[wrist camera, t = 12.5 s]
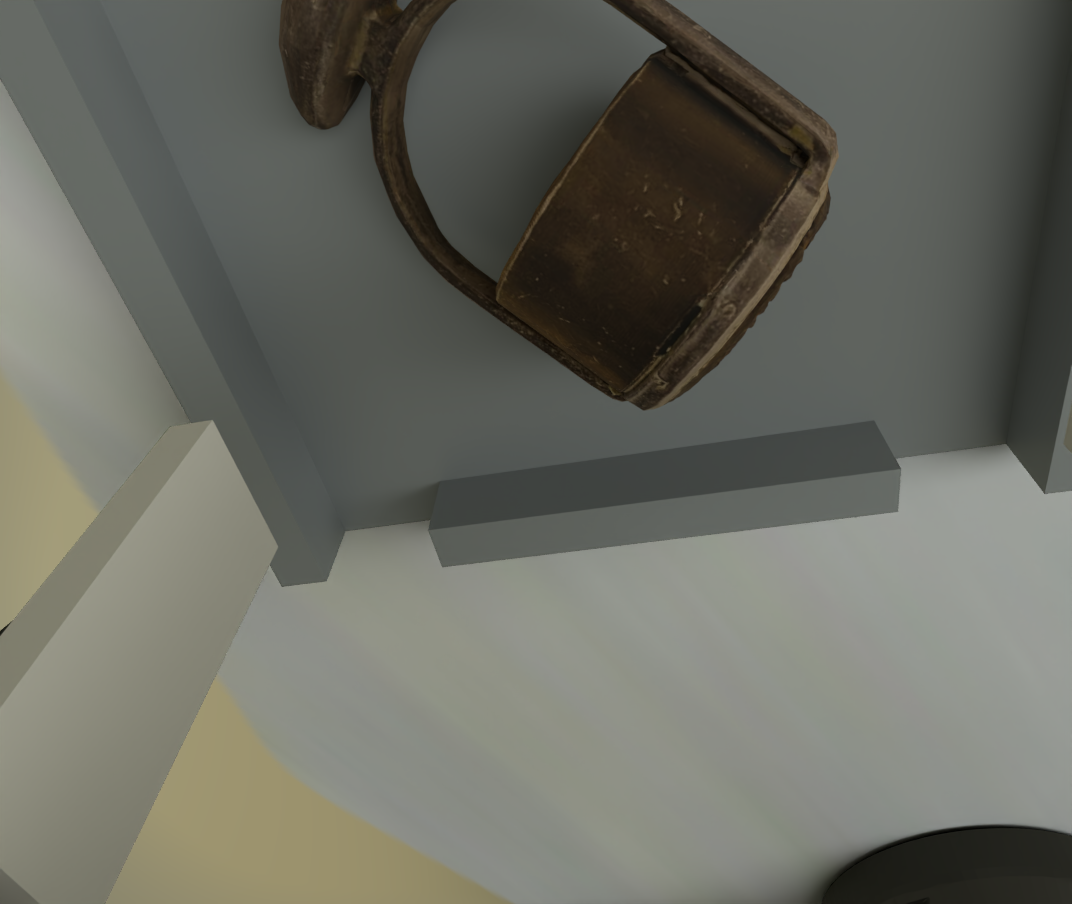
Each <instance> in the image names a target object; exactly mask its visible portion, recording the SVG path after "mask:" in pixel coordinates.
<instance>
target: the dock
mask: <svg viewBox="0 0 1072 904" xmlns="http://www.w3.org/2000/svg"><path fill="white" fill-rule="evenodd" d="M411 1H412V0H397V5H398V6H399V7H400V8H401V9H402V10H403V11H404V9H405V8H406V7H407V6H408V4H409V3H410V2H411ZM666 1H667V2H669V3H670V4H672V5H673V6H674V7H676V8H677V9H679V10H680V11H681V12H683V13H684V14H685V15H687V16H688V17H689V18H691V19H692V20H693V21H695V22H696V23H697V24H699V25H700V26H701V27H703V28H704V29H705V30H707V31H708V32H709V33H711V34H712V35H713V36H715V37H716V38H717V39H719V40H720V41H721V42H723V43H724V44H725V45H727V46H728V47H729V48H731V49H732V50H734V51H735V52H736V53H738V54H739V55H740V56H742V57H743V58H744V59H746V60H747V61H748V62H750V63H751V64H752V65H754V66H755V67H756V68H758V69H759V70H760V71H762V72H763V73H764V74H766V75H767V76H768V77H769V78H771V79H772V80H773V81H775V82H776V83H777V84H779V85H780V86H781V87H783V88H784V89H785V90H787V91H788V92H789V93H791V94H792V95H793V96H795V97H796V98H797V99H798V100H800V101H801V102H802V103H804V104H805V105H806V106H808V107H809V108H810V109H812V110H813V111H814V112H816V113H817V114H818V115H820V116H821V117H822V118H824V119H825V120H826V121H827V123H828V124H829V125H830V126H831V127H832V128H833V130H834V131H835V132H836V136H837V145H838V154H839V157H838V160H837V162H836V164H835V167H834V169H833V171H832V173H831V176H830V178H829V180H828V187H829V192H830V197H831V201H830V208H829V214H828V215H827V219H826V220H825V221H824V223H823V225H822V226H821V228H820V230H819V231H818V232H817V233H816V235H815V237H814V240H813V241H812V242H811V243H810V244H809V246H808V248H807V249H806V250H805V251H804V255H803V260H802V262H800V263H799V264H798V265H797V266H796V268H795V269H794V272H793V274H792V277H791V278H790V279H788V280H787V281H785V282H783V283H782V284H781V287H780V290H779V292H778V293H777V295H776V296H775V298H774V299H773V301H770V302H769V303H768V306H767V308H766V309H765V311H764V312H763V313H762V314H760V315H758V316H757V318H756V322H755V324H754V326H753V327H752V328H748V329H747V331H746V333H745V335H744V336H743V337H742V339H741V340H740V341H739V342H738V343H737V344H736V346H735V347H734V348H733V349H732V351H731V352H730V353H729V354H728V355H727V356H725V357H724V359H723V360H722V361H721V362H720V363H719V365H718V366H717V367H715V368H714V369H713V370H712V371H710V372H709V373H708V374H706V375H705V376H704V377H703V378H702V379H701V380H700V381H699V382H698V383H697V384H696V385H695V386H693V387H692V388H691V389H690V390H689V391H687V392H685V393H684V394H683V395H682V396H680V397H678V398H676V399H675V400H674V401H672V402H669V403H667V404H665V405H663V406H661V407H659V408H656V409H651V410H645V411H643V410H642V409H640V408H638V407H637V406H635V405H633V404H632V403H630V402H629V401H624V402H621V401H618V400H614V399H612V398H610V397H609V396H607V395H605V394H604V393H602V392H601V391H599V390H597V389H596V388H594V387H593V386H591V385H590V384H588V383H587V382H585V381H584V380H583V379H581V378H580V377H578V376H577V375H576V374H574V373H573V372H571V371H570V370H569V369H567V368H566V367H564V366H563V365H562V364H560V363H559V362H557V361H556V360H555V359H553V358H552V357H550V356H549V355H548V354H546V353H545V352H543V351H542V350H540V349H539V348H538V347H536V346H535V345H533V344H532V343H530V342H529V341H528V340H526V339H525V338H523V337H522V336H520V335H519V334H518V333H516V332H515V331H513V330H512V329H511V328H509V327H508V326H506V325H505V324H504V323H502V322H501V321H499V320H498V319H497V318H495V317H494V316H492V315H491V314H490V313H488V312H487V311H485V310H484V309H483V308H481V307H480V306H478V305H477V304H476V303H474V302H473V301H471V300H470V299H469V298H467V297H466V296H465V295H463V294H462V293H461V292H460V291H458V290H457V289H456V288H454V287H453V286H452V285H450V284H449V283H448V282H447V281H446V280H445V279H444V278H443V277H442V276H441V275H440V274H439V273H438V272H437V271H436V270H435V269H434V268H433V267H432V266H431V265H430V264H429V263H428V262H427V261H426V260H425V259H424V257H423V256H422V255H421V254H420V252H419V250H418V249H417V247H416V246H415V244H414V243H413V241H412V240H411V238H410V237H409V235H408V233H407V232H406V230H405V229H404V227H403V226H402V224H401V223H400V221H399V219H398V218H397V216H396V214H395V212H394V210H393V207H392V205H391V203H390V200H389V198H388V195H387V193H386V190H385V187H384V185H383V182H382V179H381V176H380V174H379V171H378V168H377V165H376V163H375V160H374V155H373V144H372V134H371V123H370V100H371V88H370V86H369V84H368V83H367V81H365V83H364V85H363V87H362V89H361V91H360V93H359V95H358V97H357V99H356V101H355V102H354V103H353V105H352V106H351V108H350V109H349V111H348V112H347V114H346V115H345V117H344V118H343V120H342V121H341V123H340V124H339V125H337V126H335V127H332V128H330V129H326V130H320V129H317V128H315V127H313V126H311V125H309V124H308V123H307V122H306V121H305V120H304V118H303V117H302V116H301V115H300V113H299V111H298V109H297V108H296V106H295V104H294V102H293V100H292V99H291V97H290V93H289V88H288V84H287V80H286V75H285V71H284V66H283V62H282V57H281V53H280V48H279V30H280V14H281V4H282V0H0V79H1V80H2V82H3V84H4V86H5V88H6V89H7V91H8V93H9V95H10V97H11V98H12V100H13V102H14V104H15V106H16V107H17V109H18V111H19V113H20V115H21V116H22V118H23V120H24V122H25V124H26V126H27V127H28V129H29V131H30V133H31V135H32V136H33V138H34V140H35V142H36V144H37V145H38V147H39V149H40V151H41V153H42V154H43V156H44V158H45V160H46V162H47V163H48V165H49V167H50V169H51V171H52V172H53V174H54V176H55V178H56V180H57V182H58V183H59V185H60V187H61V189H62V191H63V192H64V194H65V196H66V198H67V200H68V201H69V203H70V205H71V207H72V209H73V210H74V212H75V214H76V216H77V218H78V219H79V221H80V223H81V225H82V227H83V228H84V230H85V232H86V234H87V236H88V237H89V239H90V241H91V243H92V245H93V247H94V248H95V250H96V252H97V254H98V256H99V257H100V259H101V261H102V263H103V265H104V266H105V268H106V270H107V272H108V274H109V275H110V277H111V279H112V281H113V283H114V284H115V286H116V288H117V290H118V292H119V293H120V295H121V297H122V299H123V301H124V302H125V304H126V306H127V308H128V310H129V312H130V313H131V315H132V317H133V319H134V321H135V322H136V324H137V326H138V328H139V330H140V331H141V333H142V335H143V337H144V339H145V340H146V342H147V344H148V346H149V348H150V349H151V351H152V353H153V355H154V357H155V358H156V360H157V362H158V364H159V366H160V368H161V369H162V371H163V373H164V375H165V377H166V378H167V380H168V382H169V384H170V386H171V387H172V389H173V391H174V393H175V395H176V396H177V398H178V400H179V402H180V404H181V405H182V407H183V409H184V411H185V413H186V414H187V416H188V418H189V420H190V422H191V423H196V422H202V421H208V420H213V422H214V423H215V425H216V427H217V429H218V431H219V433H220V435H221V437H222V439H223V441H224V443H225V445H226V447H227V449H228V450H229V452H230V454H231V456H232V458H233V460H234V462H235V464H236V466H237V468H238V470H239V472H240V474H241V476H242V478H243V479H244V481H245V483H246V485H247V487H248V489H249V491H250V493H251V495H252V497H253V499H254V501H255V503H256V505H257V506H258V508H259V510H260V512H261V514H262V516H263V518H264V520H265V522H266V524H267V526H268V528H269V530H270V532H271V534H272V535H273V537H274V539H275V541H276V543H277V545H278V548H277V550H276V552H275V555H274V557H273V559H272V561H271V563H270V566H271V568H272V570H273V572H274V573H275V575H276V577H277V579H278V581H279V582H280V584H281V586H282V587H283V586H292V585H300V584H308V583H316V582H325V581H327V579H328V576H329V573H330V571H331V568H332V565H333V563H334V560H335V557H336V555H337V552H338V549H339V547H340V544H341V541H342V538H343V536H344V533H345V531H350V530H357V529H365V528H372V527H380V526H387V525H395V524H403V523H410V522H418V521H425V520H431V521H430V525H429V529H428V531H429V534H430V536H431V539H432V541H433V544H434V547H435V549H436V552H437V554H438V557H439V560H440V562H441V565H442V567H448V566H456V565H464V564H473V563H481V562H489V561H497V560H505V559H514V558H522V557H530V556H538V555H547V554H555V553H563V552H571V551H579V550H588V549H596V548H604V547H612V546H621V545H629V544H637V543H645V542H653V541H662V540H670V539H678V538H686V537H695V536H703V535H711V534H719V533H727V532H736V531H744V530H752V529H760V528H769V527H777V526H785V525H793V524H801V523H810V522H818V521H826V520H834V519H843V518H851V517H859V516H867V515H875V514H884V513H892V512H898V504H899V490H900V476H901V468H900V466H899V464H898V463H897V461H896V459H895V458H902V457H910V456H918V455H925V454H933V453H940V452H948V451H955V450H963V449H971V448H978V447H986V446H993V445H1001V444H1007V445H1008V447H1009V448H1010V449H1011V451H1012V452H1013V453H1014V455H1015V456H1016V457H1017V458H1018V460H1019V461H1020V462H1021V464H1022V465H1023V466H1024V468H1025V469H1026V470H1027V471H1028V473H1029V474H1030V475H1031V477H1032V478H1033V479H1034V481H1035V482H1036V483H1037V484H1038V486H1039V487H1040V488H1041V490H1042V491H1043V492H1044V494H1048V493H1056V492H1065V491H1072V453H1071V452H1070V451H1069V450H1068V449H1067V448H1066V446H1065V445H1064V439H1065V434H1066V429H1067V424H1068V419H1069V414H1070V409H1071V404H1072V0H666ZM666 46H667V45H665V44H664V43H662V42H661V41H660V40H658V39H657V38H655V37H654V36H653V35H651V34H650V33H648V32H647V31H646V30H644V29H643V28H641V27H640V26H639V25H637V24H636V23H634V22H633V21H632V20H630V19H629V18H628V17H626V16H625V15H623V14H622V13H621V12H619V11H618V10H617V9H615V8H614V7H612V6H611V5H609V4H608V3H606V2H604V1H603V0H457V1H455V2H454V3H453V4H451V5H450V6H449V8H448V9H447V10H446V11H445V12H444V14H443V15H442V16H441V17H440V18H439V19H438V21H437V22H436V23H435V24H434V25H433V27H432V29H431V31H430V33H429V35H428V36H427V38H426V40H425V42H424V44H423V46H422V48H421V50H420V52H419V54H418V56H417V59H416V61H415V63H414V66H413V69H412V72H411V75H410V77H409V80H408V83H407V92H406V101H405V109H404V118H403V121H404V129H405V136H406V143H407V150H408V155H409V159H410V163H411V167H412V171H413V175H414V177H415V179H416V182H417V184H418V186H419V188H420V190H421V192H422V194H423V196H424V198H425V200H426V203H427V205H428V207H429V209H430V211H431V213H432V215H433V217H434V219H435V221H436V224H437V226H438V228H439V229H440V231H441V232H442V234H443V235H444V237H445V238H446V239H447V240H448V242H449V243H450V244H451V246H453V247H454V248H455V249H456V250H457V251H458V252H459V253H460V254H462V255H463V256H464V257H465V258H466V259H467V260H468V261H470V262H471V263H472V264H473V265H474V266H475V267H477V268H478V269H479V270H481V271H482V272H483V273H485V274H486V275H488V276H489V277H490V278H492V279H493V280H494V281H496V282H497V283H498V281H499V278H500V275H501V273H502V270H503V268H504V267H505V265H506V263H507V261H508V259H509V258H510V256H511V254H512V252H513V251H514V249H515V247H516V246H517V244H518V242H519V241H520V239H521V237H522V235H523V233H524V231H525V229H526V228H527V226H528V224H529V222H530V220H531V218H532V216H533V214H534V212H535V210H536V208H537V207H538V205H539V203H540V202H541V200H542V199H543V197H544V195H545V194H546V192H547V190H548V189H549V187H550V186H551V184H552V182H553V181H554V180H555V178H556V177H557V176H558V175H559V173H560V172H561V171H562V169H563V168H564V167H565V165H566V164H567V163H568V161H569V160H570V159H571V157H572V156H573V154H574V153H575V151H576V150H577V149H578V147H579V146H580V144H581V143H582V141H583V140H584V138H585V137H586V136H587V134H588V133H589V132H590V130H591V129H592V128H593V126H594V125H595V124H596V122H597V121H598V120H599V118H600V117H601V116H602V114H603V113H604V111H605V110H606V109H607V107H608V106H609V104H610V103H611V101H612V100H613V99H614V97H615V96H616V94H617V93H618V92H619V90H620V89H621V88H622V86H623V85H624V84H625V82H626V81H627V80H628V79H629V77H630V76H631V75H632V74H633V73H634V72H635V71H637V70H638V69H639V68H641V66H642V65H643V63H644V62H645V61H646V59H647V58H648V57H649V56H650V55H651V54H653V53H655V52H657V51H659V50H662V49H665V48H666Z"/></svg>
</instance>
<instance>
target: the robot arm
mask: <svg viewBox="0 0 1072 904" xmlns="http://www.w3.org/2000/svg"><path fill="white" fill-rule="evenodd" d="M1064 445H1065V446H1066V448H1067V449H1068V450H1069V451H1070V452H1071V453H1072V404H1071V409H1070V414H1069V419H1068V424H1067V429H1066V434H1065V439H1064ZM277 548H278V545H277V543H276V541H275V539H274V537H273V535H272V534H271V532H270V530H269V528H268V526H267V524H266V522H265V520H264V518H263V516H262V514H261V512H260V510H259V508H258V506H257V505H256V503H255V501H254V499H253V497H252V495H251V493H250V491H249V489H248V487H247V485H246V483H245V481H244V479H243V478H242V476H241V474H240V472H239V470H238V468H237V466H236V464H235V462H234V460H233V458H232V456H231V454H230V452H229V450H228V449H227V447H226V445H225V443H224V441H223V439H222V437H221V435H220V433H219V431H218V429H217V427H216V425H215V423H214V422H213V420H208V421H202V422H196V423H190V424H184V425H177V426H171V427H169V428H168V430H167V431H166V432H165V433H164V435H163V436H162V437H161V438H160V440H159V441H158V442H157V443H156V444H155V446H154V447H153V448H152V449H151V451H150V452H149V453H148V454H147V456H146V457H145V458H144V459H143V461H142V462H141V463H140V464H139V465H138V467H137V468H136V469H135V470H134V472H133V473H132V474H131V475H130V477H129V478H128V479H127V480H126V482H125V483H124V484H123V485H122V486H121V488H120V489H119V490H118V491H117V493H116V494H115V495H114V496H113V498H112V499H111V500H110V501H109V502H108V504H107V505H106V506H105V507H104V509H103V510H102V511H101V512H100V514H99V515H98V516H97V517H96V519H95V520H94V521H93V522H92V523H91V525H90V526H89V527H88V528H87V530H86V531H85V532H84V533H83V535H82V536H81V537H80V538H79V540H78V541H77V542H76V543H75V545H74V546H73V547H72V548H71V549H70V551H69V552H68V553H67V554H66V556H65V557H64V558H63V559H62V561H61V562H60V563H59V564H58V565H57V567H56V568H55V569H54V570H53V572H52V573H51V574H50V575H49V577H48V578H47V579H46V580H45V582H44V583H43V584H42V585H41V586H40V588H39V589H38V590H37V591H36V593H35V594H34V595H33V596H32V598H31V599H30V600H29V601H28V602H27V604H26V605H25V606H24V607H23V609H22V610H21V611H20V612H19V614H18V615H17V616H16V617H15V619H14V620H13V621H12V622H10V623H9V624H8V625H7V626H6V627H4V628H3V629H2V630H1V631H0V904H105V903H106V900H107V899H108V896H109V894H110V892H111V890H112V888H113V886H114V884H115V882H116V880H117V878H118V876H119V874H120V872H121V870H122V868H123V865H124V863H125V861H126V859H127V857H128V855H129V853H130V851H131V849H132V847H133V845H134V843H135V841H136V839H137V836H138V834H139V832H140V830H141V828H142V826H143V824H144V822H145V820H146V818H147V816H148V814H149V812H150V810H151V808H152V806H153V804H154V802H155V800H156V798H157V796H158V793H159V791H160V789H161V787H162V785H163V783H164V781H165V779H166V777H167V775H168V773H169V771H170V769H171V767H172V765H173V763H174V761H175V758H176V756H177V754H178V752H179V750H180V748H181V746H182V744H183V742H184V740H185V738H186V736H187V734H188V732H189V730H190V727H191V725H192V723H193V721H194V719H195V717H196V715H197V713H198V711H199V709H200V707H201V705H202V703H203V701H204V698H205V697H206V695H207V692H208V690H209V688H210V686H211V684H212V682H213V680H214V678H215V676H216V674H217V672H218V670H219V668H220V666H221V664H222V662H223V660H224V658H225V655H226V653H227V651H228V649H229V647H230V645H231V643H232V641H233V639H234V637H235V635H236V633H237V631H238V629H239V627H240V625H241V622H242V620H243V618H244V616H245V614H246V612H247V610H248V608H249V606H250V604H251V602H252V600H253V598H254V596H255V594H256V592H257V590H258V587H259V585H260V583H261V581H262V579H263V577H264V575H265V573H266V571H267V569H268V567H269V565H270V563H271V561H272V559H273V557H274V555H275V552H276V550H277ZM822 904H1072V836H1068V835H1064V834H1059V833H1054V832H1048V831H1041V830H1032V829H1017V828H992V829H975V830H965V831H957V832H951V833H944V834H939V835H934V836H929V837H925V838H921V839H917V840H913V841H910V842H907V843H903V844H900V845H897V846H895V847H892V848H889V849H887V850H884V851H882V852H879V853H877V854H875V855H873V856H871V857H869V858H867V859H865V860H863V861H861V862H859V863H858V864H856V865H854V866H853V867H852V868H850V869H849V870H847V871H846V872H845V873H843V874H842V875H841V876H840V877H839V878H838V879H837V880H836V881H835V882H834V883H833V884H832V885H831V886H830V888H829V889H828V891H827V892H826V894H825V896H824V899H823V901H822Z"/></svg>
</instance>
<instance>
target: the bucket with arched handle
mask: <svg viewBox="0 0 1072 904" xmlns="http://www.w3.org/2000/svg"><path fill="white" fill-rule="evenodd" d="M455 1H457V0H412V1H411V2H410V3H409V4H408V6H407V7H406V8H405V9H404V11H403V10H402V9H401V8H400V7H399V6H398V5H397V0H282V4H281V14H280V30H279V48H280V53H281V57H282V62H283V66H284V71H285V75H286V80H287V84H288V88H289V93H290V97H291V99H292V100H293V102H294V104H295V106H296V108H297V109H298V111H299V113H300V115H301V116H302V117H303V118H304V120H305V121H306V122H307V123H308V124H309V125H311V126H313V127H315V128H317V129H320V130H326V129H330V128H332V127H335V126H337V125H339V124H340V123H341V121H342V120H343V118H344V117H345V115H346V114H347V112H348V111H349V109H350V108H351V106H352V105H353V103H354V102H355V101H356V99H357V97H358V95H359V93H360V91H361V89H362V87H363V85H364V83H365V81H367V83H368V84H369V86H370V88H371V100H370V123H371V134H372V144H373V155H374V160H375V163H376V165H377V168H378V171H379V174H380V176H381V179H382V182H383V185H384V187H385V190H386V193H387V195H388V198H389V200H390V203H391V205H392V207H393V210H394V212H395V214H396V216H397V218H398V219H399V221H400V223H401V224H402V226H403V227H404V229H405V230H406V232H407V233H408V235H409V237H410V238H411V240H412V241H413V243H414V244H415V246H416V247H417V249H418V250H419V252H420V254H421V255H422V256H423V257H424V259H425V260H426V261H427V262H428V263H429V264H430V265H431V266H432V267H433V268H434V269H435V270H436V271H437V272H438V273H439V274H440V275H441V276H442V277H443V278H444V279H445V280H446V281H447V282H448V283H449V284H450V285H452V286H453V287H454V288H456V289H457V290H458V291H460V292H461V293H462V294H463V295H465V296H466V297H467V298H469V299H470V300H471V301H473V302H474V303H476V304H477V305H478V306H480V307H481V308H483V309H484V310H485V311H487V312H488V313H490V314H491V315H492V316H494V317H495V318H497V319H498V320H499V321H501V322H502V323H504V324H505V325H506V326H508V327H509V328H511V329H512V330H513V331H515V332H516V333H518V334H519V335H520V336H522V337H523V338H525V339H526V340H528V341H529V342H530V343H532V344H533V345H535V346H536V347H538V348H539V349H540V350H542V351H543V352H545V353H546V354H548V355H549V356H550V357H552V358H553V359H555V360H556V361H557V362H559V363H560V364H562V365H563V366H564V367H566V368H567V369H569V370H570V371H571V372H573V373H574V374H576V375H577V376H578V377H580V378H581V379H583V380H584V381H585V382H587V383H588V384H590V385H591V386H593V387H594V388H596V389H597V390H599V391H601V392H602V393H604V394H605V395H607V396H609V397H610V398H612V399H614V400H618V401H621V402H624V401H629V402H630V403H632V404H633V405H635V406H637V407H638V408H640V409H642V410H643V411H645V410H651V409H656V408H659V407H661V406H663V405H665V404H667V403H669V402H672V401H674V400H675V399H676V398H678V397H680V396H682V395H683V394H684V393H685V392H687V391H689V390H690V389H691V388H692V387H693V386H695V385H696V384H697V383H698V382H699V381H700V380H701V379H702V378H703V377H704V376H705V375H706V374H708V373H709V372H710V371H712V370H713V369H714V368H715V367H717V366H718V365H719V363H720V362H721V361H722V360H723V359H724V357H725V356H727V355H728V354H729V353H730V352H731V351H732V349H733V348H734V347H735V346H736V344H737V343H738V342H739V341H740V340H741V339H742V337H743V336H744V335H745V333H746V331H747V329H748V328H752V327H753V326H754V324H755V322H756V318H757V316H758V315H760V314H762V313H763V312H764V311H765V309H766V308H767V306H768V303H769V302H770V301H773V299H774V298H775V296H776V295H777V293H778V292H779V290H780V287H781V284H782V283H783V282H785V281H787V280H788V279H790V278H791V277H792V274H793V272H794V269H795V268H796V266H797V265H798V264H799V263H800V262H802V260H803V255H804V251H805V250H806V249H807V248H808V246H809V244H810V243H811V242H812V241H813V240H814V237H815V235H816V233H817V232H818V231H819V230H820V228H821V226H822V225H823V223H824V221H825V220H826V219H827V215H828V214H829V208H830V201H831V197H830V192H829V187H828V180H829V178H830V176H831V173H832V171H833V169H834V167H835V164H836V162H837V160H838V157H839V154H838V145H837V136H836V132H835V131H834V130H833V128H832V127H831V126H830V125H829V124H828V123H827V121H826V120H825V119H824V118H822V117H821V116H820V115H818V114H817V113H816V112H814V111H813V110H812V109H810V108H809V107H808V106H806V105H805V104H804V103H802V102H801V101H800V100H798V99H797V98H796V97H795V96H793V95H792V94H791V93H789V92H788V91H787V90H785V89H784V88H783V87H781V86H780V85H779V84H777V83H776V82H775V81H773V80H772V79H771V78H769V77H768V76H767V75H766V74H764V73H763V72H762V71H760V70H759V69H758V68H756V67H755V66H754V65H752V64H751V63H750V62H748V61H747V60H746V59H744V58H743V57H742V56H740V55H739V54H738V53H736V52H735V51H734V50H732V49H731V48H729V47H728V46H727V45H725V44H724V43H723V42H721V41H720V40H719V39H717V38H716V37H715V36H713V35H712V34H711V33H709V32H708V31H707V30H705V29H704V28H703V27H701V26H700V25H699V24H697V23H696V22H695V21H693V20H692V19H691V18H689V17H688V16H687V15H685V14H684V13H683V12H681V11H680V10H679V9H677V8H676V7H674V6H673V5H672V4H670V3H669V2H667V1H666V0H603V1H604V2H606V3H608V4H609V5H611V6H612V7H614V8H615V9H617V10H618V11H619V12H621V13H622V14H623V15H625V16H626V17H628V18H629V19H630V20H632V21H633V22H634V23H636V24H637V25H639V26H640V27H641V28H643V29H644V30H646V31H647V32H648V33H650V34H651V35H653V36H654V37H655V38H657V39H658V40H660V41H661V42H662V43H664V44H665V45H667V46H666V48H665V49H662V50H659V51H657V52H655V53H653V54H651V55H650V56H649V57H648V58H647V59H646V61H645V62H644V63H643V65H642V66H641V68H639V69H638V70H637V71H635V72H634V73H633V74H632V75H631V76H630V77H629V79H628V80H627V81H626V82H625V84H624V85H623V86H622V88H621V89H620V90H619V92H618V93H617V94H616V96H615V97H614V99H613V100H612V101H611V103H610V104H609V106H608V107H607V109H606V110H605V111H604V113H603V114H602V116H601V117H600V118H599V120H598V121H597V122H596V124H595V125H594V126H593V128H592V129H591V130H590V132H589V133H588V134H587V136H586V137H585V138H584V140H583V141H582V143H581V144H580V146H579V147H578V149H577V150H576V151H575V153H574V154H573V156H572V157H571V159H570V160H569V161H568V163H567V164H566V165H565V167H564V168H563V169H562V171H561V172H560V173H559V175H558V176H557V177H556V178H555V180H554V181H553V182H552V184H551V186H550V187H549V189H548V190H547V192H546V194H545V195H544V197H543V199H542V200H541V202H540V203H539V205H538V207H537V208H536V210H535V212H534V214H533V216H532V218H531V220H530V222H529V224H528V226H527V228H526V229H525V231H524V233H523V235H522V237H521V239H520V241H519V242H518V244H517V246H516V247H515V249H514V251H513V252H512V254H511V256H510V258H509V259H508V261H507V263H506V265H505V267H504V268H503V270H502V273H501V275H500V278H499V281H498V283H497V282H496V281H494V280H493V279H492V278H490V277H489V276H488V275H486V274H485V273H483V272H482V271H481V270H479V269H478V268H477V267H475V266H474V265H473V264H472V263H471V262H470V261H468V260H467V259H466V258H465V257H464V256H463V255H462V254H460V253H459V252H458V251H457V250H456V249H455V248H454V247H453V246H451V244H450V243H449V242H448V240H447V239H446V238H445V237H444V235H443V234H442V232H441V231H440V229H439V228H438V226H437V224H436V221H435V219H434V217H433V215H432V213H431V211H430V209H429V207H428V205H427V203H426V200H425V198H424V196H423V194H422V192H421V190H420V188H419V186H418V184H417V182H416V179H415V177H414V175H413V171H412V167H411V163H410V159H409V155H408V150H407V143H406V136H405V129H404V121H403V118H404V109H405V101H406V92H407V83H408V80H409V77H410V75H411V72H412V69H413V66H414V63H415V61H416V59H417V56H418V54H419V52H420V50H421V48H422V46H423V44H424V42H425V40H426V38H427V36H428V35H429V33H430V31H431V29H432V27H433V25H434V24H435V23H436V22H437V21H438V19H439V18H440V17H441V16H442V15H443V14H444V12H445V11H446V10H447V9H448V8H449V6H450V5H451V4H453V3H454V2H455Z"/></svg>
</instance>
